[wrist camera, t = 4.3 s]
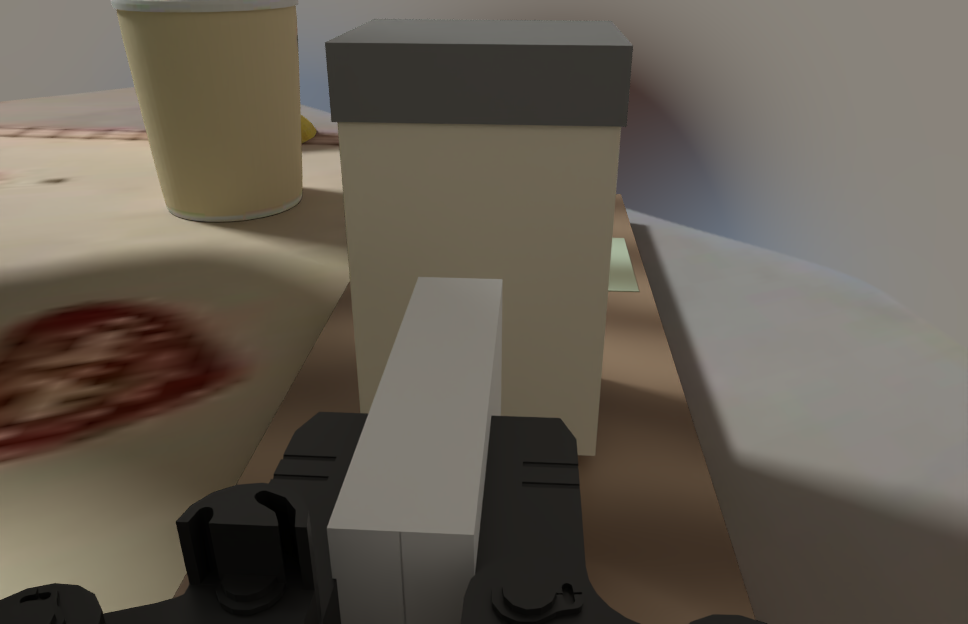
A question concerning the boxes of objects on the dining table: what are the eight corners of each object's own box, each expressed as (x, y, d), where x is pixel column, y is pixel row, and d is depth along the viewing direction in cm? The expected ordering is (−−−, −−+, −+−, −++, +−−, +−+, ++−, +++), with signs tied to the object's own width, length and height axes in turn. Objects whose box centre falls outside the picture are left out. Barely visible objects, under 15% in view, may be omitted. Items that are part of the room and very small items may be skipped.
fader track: (754, 707, 16) (767, 651, 15) (172, 672, 16) (159, 618, 16) (618, 220, 43) (620, 192, 42) (402, 215, 43) (400, 188, 43)
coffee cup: (346, 189, 48) (330, -23, 43) (249, 237, 40) (215, -14, 35) (225, 172, 51) (197, -25, 46) (114, 214, 43) (64, -19, 38)
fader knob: (599, 458, 20) (632, 45, 15) (358, 448, 20) (325, 42, 16) (588, 359, 24) (611, 21, 20) (392, 352, 25) (374, 19, 20)
